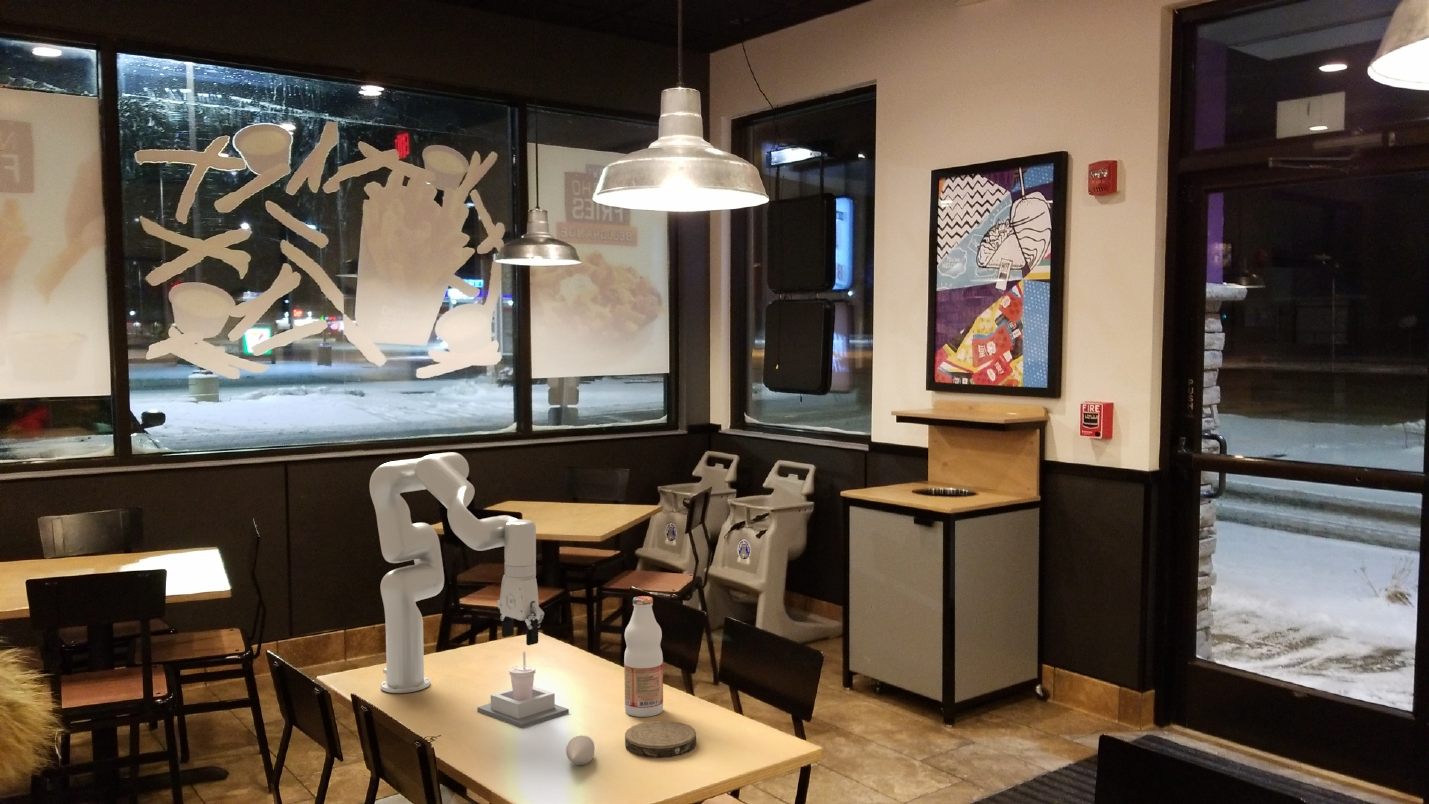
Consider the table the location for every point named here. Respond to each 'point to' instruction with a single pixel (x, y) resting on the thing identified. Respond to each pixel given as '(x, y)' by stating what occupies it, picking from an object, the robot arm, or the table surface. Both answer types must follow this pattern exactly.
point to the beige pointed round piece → (580, 750)
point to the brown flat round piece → (660, 739)
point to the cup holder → (523, 708)
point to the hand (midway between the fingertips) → (519, 640)
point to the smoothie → (522, 681)
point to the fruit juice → (643, 661)
